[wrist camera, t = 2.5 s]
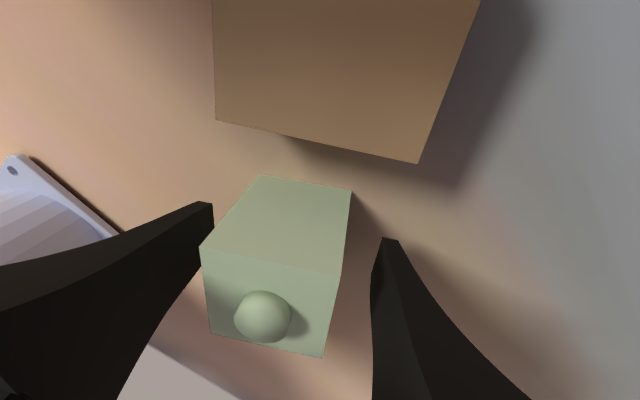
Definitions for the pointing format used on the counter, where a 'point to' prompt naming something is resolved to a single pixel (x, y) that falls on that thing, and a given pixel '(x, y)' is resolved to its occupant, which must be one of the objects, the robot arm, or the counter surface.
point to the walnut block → (339, 68)
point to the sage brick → (277, 264)
